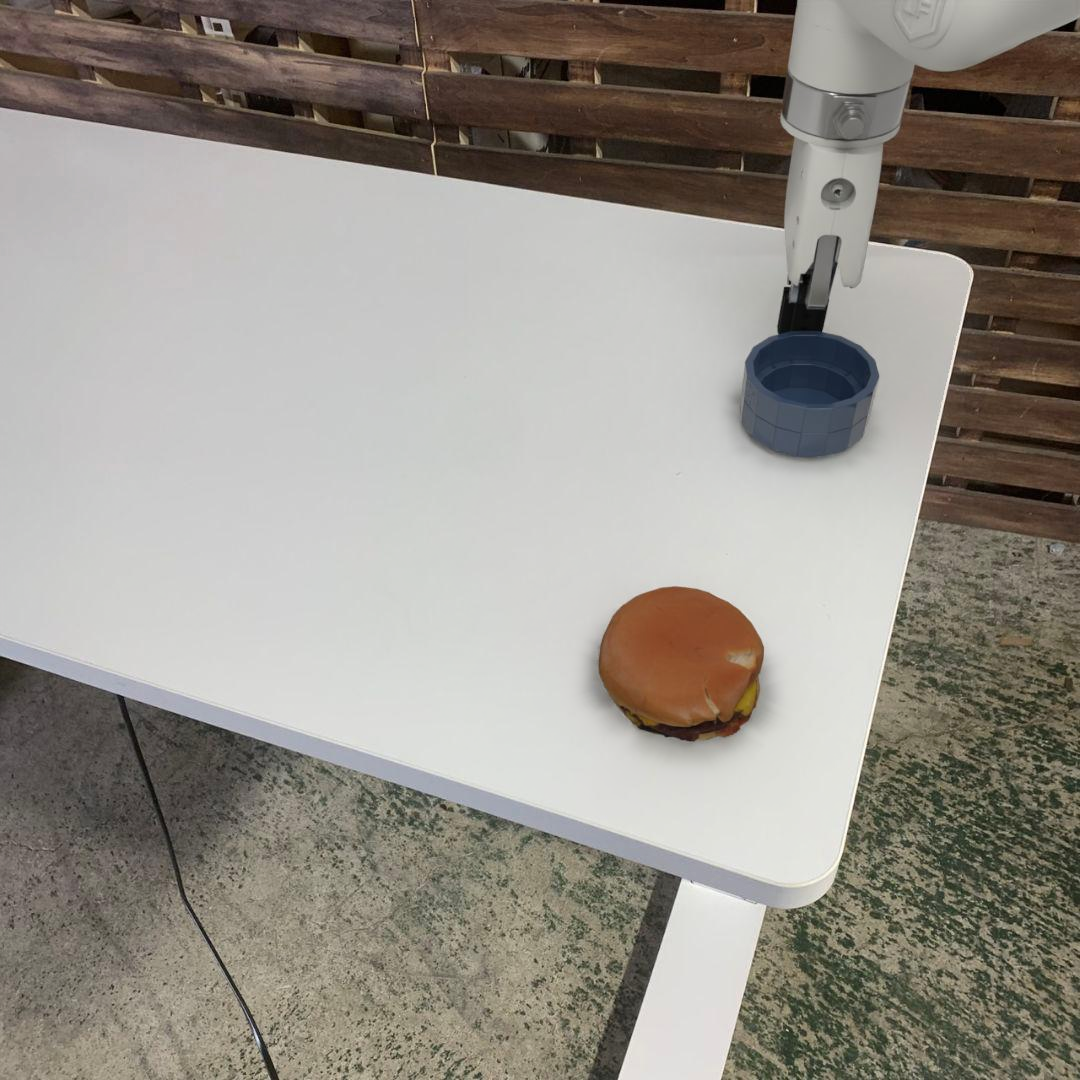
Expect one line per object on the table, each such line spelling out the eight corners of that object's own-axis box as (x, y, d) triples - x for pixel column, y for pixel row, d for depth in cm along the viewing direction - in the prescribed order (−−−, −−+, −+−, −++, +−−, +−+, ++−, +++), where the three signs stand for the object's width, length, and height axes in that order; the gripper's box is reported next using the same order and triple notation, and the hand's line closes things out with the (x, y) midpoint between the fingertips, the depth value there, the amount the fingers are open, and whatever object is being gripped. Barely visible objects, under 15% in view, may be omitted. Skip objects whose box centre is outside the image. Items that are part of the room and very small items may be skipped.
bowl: (855, 384, 76) (867, 330, 72) (874, 463, 69) (889, 408, 66) (735, 384, 76) (741, 330, 73) (744, 463, 70) (750, 408, 67)
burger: (602, 615, 61) (602, 566, 58) (753, 620, 60) (761, 570, 57) (595, 753, 55) (594, 706, 51) (764, 761, 54) (774, 714, 50)
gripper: (921, 157, 56) (856, 402, 70) (891, 51, 66) (839, 284, 80) (788, 154, 57) (750, 397, 71) (778, 50, 67) (746, 281, 80)
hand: (798, 337), depth 75 cm, fingers closed
